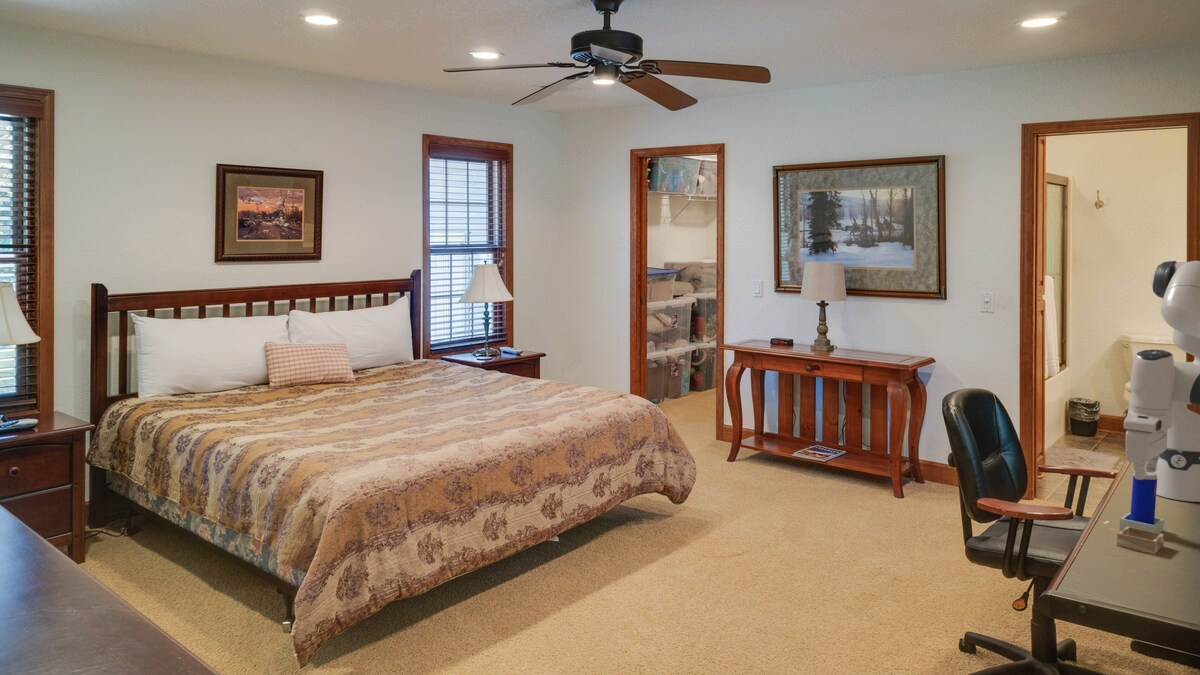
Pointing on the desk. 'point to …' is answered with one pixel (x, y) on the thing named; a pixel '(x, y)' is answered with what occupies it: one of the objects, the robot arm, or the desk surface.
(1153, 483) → the beverage can
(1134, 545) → the bin oak
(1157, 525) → the bin sage
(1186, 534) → the desk surface
